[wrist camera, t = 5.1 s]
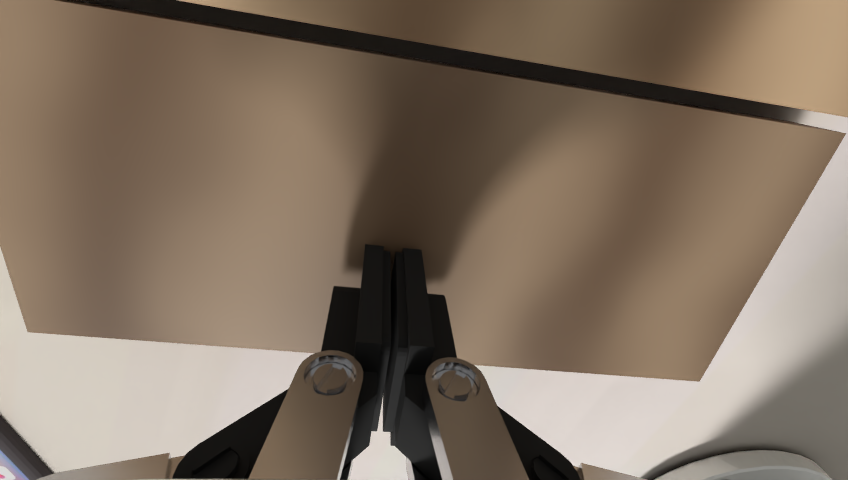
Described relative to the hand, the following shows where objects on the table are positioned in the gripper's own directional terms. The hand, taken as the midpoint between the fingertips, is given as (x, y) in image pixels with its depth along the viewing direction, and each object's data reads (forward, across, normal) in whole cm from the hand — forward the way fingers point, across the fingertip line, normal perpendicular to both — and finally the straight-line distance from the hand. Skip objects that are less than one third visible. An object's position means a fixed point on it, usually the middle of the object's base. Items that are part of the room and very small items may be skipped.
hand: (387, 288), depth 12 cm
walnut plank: (+2, -1, -2) cm, 3 cm away
